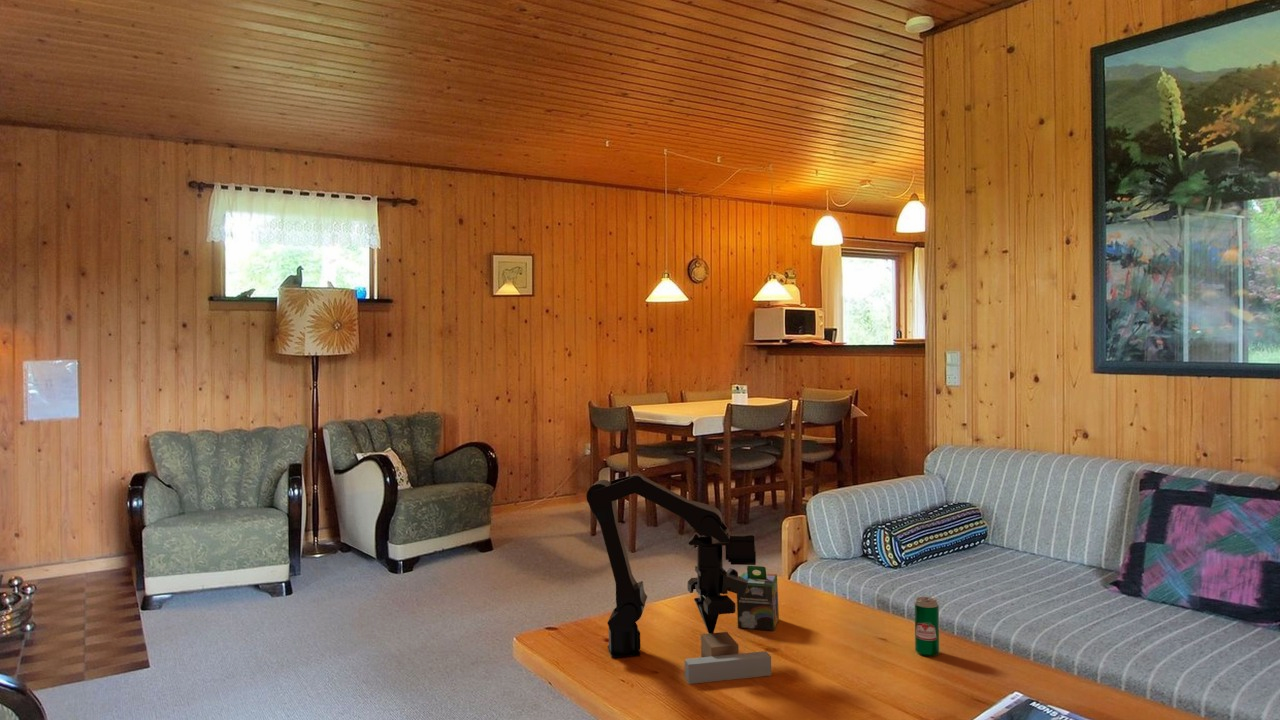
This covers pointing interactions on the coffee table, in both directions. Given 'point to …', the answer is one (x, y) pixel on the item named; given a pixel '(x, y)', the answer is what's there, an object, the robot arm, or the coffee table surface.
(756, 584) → the chalk box
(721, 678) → the batten
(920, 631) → the soda can
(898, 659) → the coffee table surface
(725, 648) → the walnut brick
